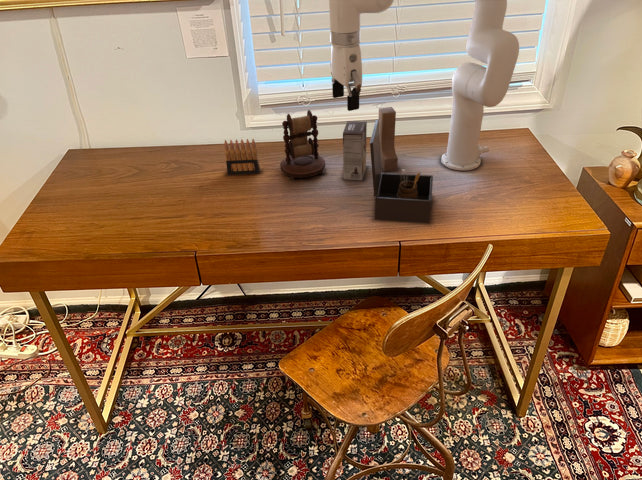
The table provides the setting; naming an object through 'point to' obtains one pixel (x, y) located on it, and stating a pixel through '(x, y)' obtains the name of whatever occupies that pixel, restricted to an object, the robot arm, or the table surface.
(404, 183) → the utensil holder
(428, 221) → the black box
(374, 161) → the lid
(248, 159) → the ammunition clip
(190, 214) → the table surface
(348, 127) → the coffee box
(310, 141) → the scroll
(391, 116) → the wooden block
